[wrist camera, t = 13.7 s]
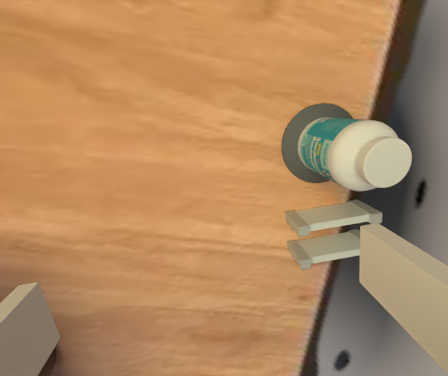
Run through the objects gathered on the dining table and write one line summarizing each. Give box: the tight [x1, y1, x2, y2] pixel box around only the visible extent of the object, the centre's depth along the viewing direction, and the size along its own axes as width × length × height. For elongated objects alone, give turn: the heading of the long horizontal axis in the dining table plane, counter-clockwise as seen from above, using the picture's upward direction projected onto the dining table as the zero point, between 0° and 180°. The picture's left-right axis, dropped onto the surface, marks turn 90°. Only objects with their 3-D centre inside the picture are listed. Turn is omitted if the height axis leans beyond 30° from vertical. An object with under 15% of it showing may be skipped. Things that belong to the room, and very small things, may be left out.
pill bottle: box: [298, 117, 412, 191], centre depth 31 cm, size 8×7×14 cm
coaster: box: [282, 103, 353, 183], centre depth 37 cm, size 11×11×1 cm
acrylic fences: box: [285, 200, 382, 270], centre depth 38 cm, size 11×6×6 cm, turn 98°
